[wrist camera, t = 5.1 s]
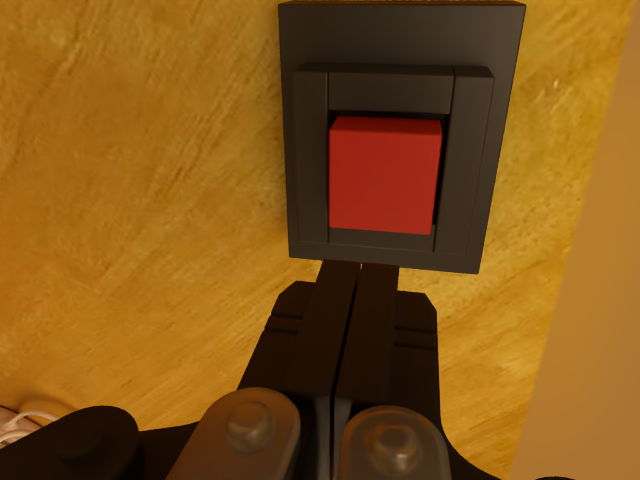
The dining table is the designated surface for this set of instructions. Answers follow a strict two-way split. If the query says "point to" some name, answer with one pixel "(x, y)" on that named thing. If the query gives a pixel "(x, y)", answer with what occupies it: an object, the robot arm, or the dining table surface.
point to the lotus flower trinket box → (19, 424)
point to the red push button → (397, 115)
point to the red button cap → (383, 173)
